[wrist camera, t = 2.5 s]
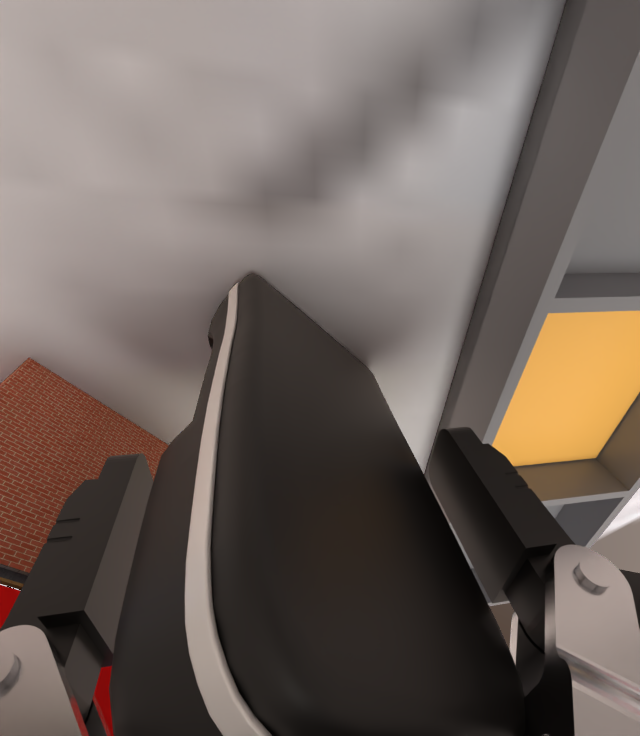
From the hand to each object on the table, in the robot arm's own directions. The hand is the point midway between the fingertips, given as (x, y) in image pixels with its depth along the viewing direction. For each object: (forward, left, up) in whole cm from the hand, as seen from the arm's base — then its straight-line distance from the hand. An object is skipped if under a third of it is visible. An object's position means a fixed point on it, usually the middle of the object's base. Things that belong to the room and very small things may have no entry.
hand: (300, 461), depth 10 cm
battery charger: (0, 0, -5) cm, 5 cm away
